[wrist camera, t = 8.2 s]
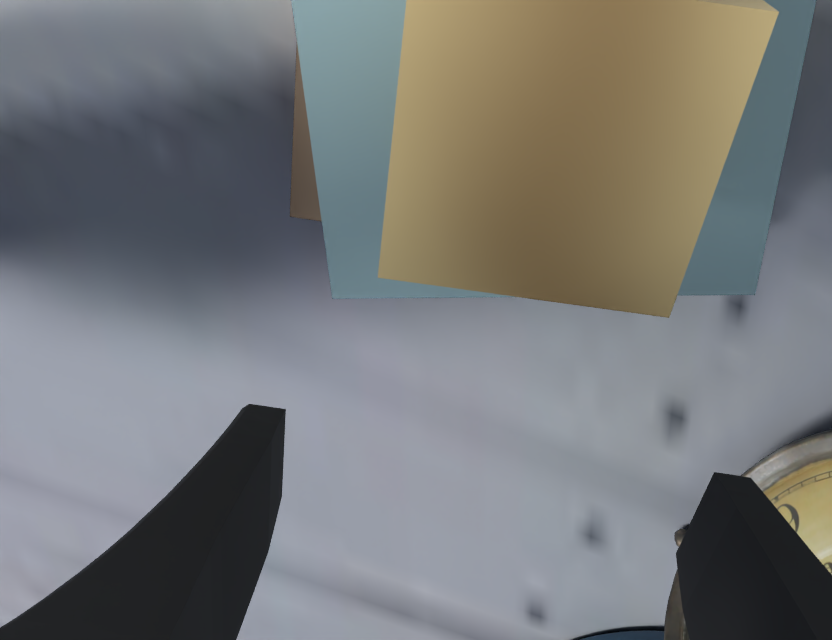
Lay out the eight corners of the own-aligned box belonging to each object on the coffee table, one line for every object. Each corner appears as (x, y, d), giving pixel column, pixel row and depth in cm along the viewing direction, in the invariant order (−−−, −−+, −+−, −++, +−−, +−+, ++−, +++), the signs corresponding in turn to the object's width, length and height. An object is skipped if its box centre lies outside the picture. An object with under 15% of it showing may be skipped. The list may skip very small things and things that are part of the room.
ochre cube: (402, 162, 15) (377, 277, 12) (431, -88, 13) (410, -40, 9) (625, 193, 15) (668, 317, 12) (696, -50, 13) (778, 12, 9)
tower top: (351, 235, 20) (332, 298, 17) (303, -188, 15) (266, -185, 12) (719, 229, 19) (754, 294, 17) (797, -223, 14) (863, -227, 12)
